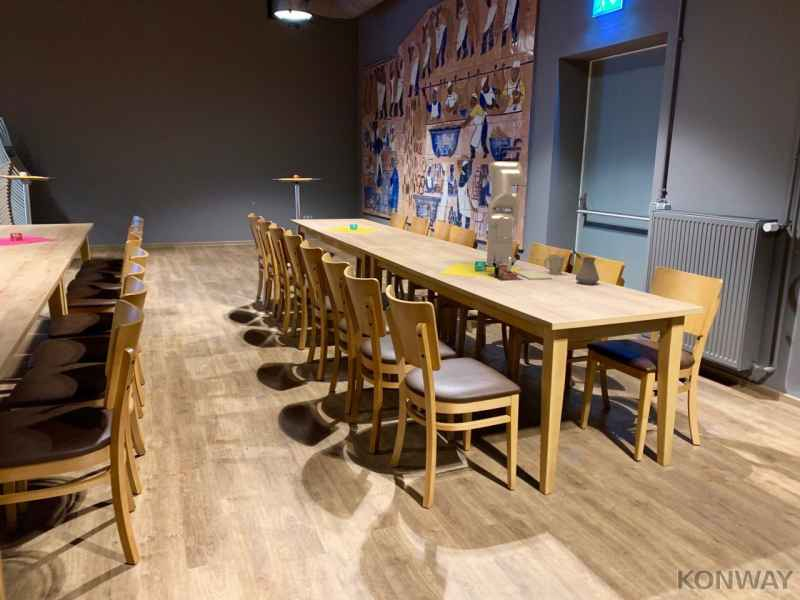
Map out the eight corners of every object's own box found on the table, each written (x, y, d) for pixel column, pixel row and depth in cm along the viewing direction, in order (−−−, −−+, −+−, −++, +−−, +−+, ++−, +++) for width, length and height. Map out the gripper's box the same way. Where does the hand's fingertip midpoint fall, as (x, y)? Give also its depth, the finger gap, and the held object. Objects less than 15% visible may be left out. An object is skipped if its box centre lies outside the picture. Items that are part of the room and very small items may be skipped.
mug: (556, 275, 334) (558, 257, 332) (538, 272, 344) (539, 254, 341) (566, 274, 339) (567, 256, 337) (547, 270, 349) (548, 253, 347)
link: (495, 274, 327) (495, 265, 326) (505, 274, 329) (505, 265, 327) (506, 279, 314) (507, 270, 313) (516, 279, 315) (517, 269, 314)
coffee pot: (603, 285, 311) (606, 255, 308) (583, 285, 308) (586, 255, 305) (579, 277, 331) (582, 249, 328) (560, 277, 328) (562, 249, 325)
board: (513, 274, 334) (513, 271, 333) (533, 274, 337) (533, 270, 336) (529, 282, 315) (530, 278, 314) (551, 281, 318) (551, 277, 317)
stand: (486, 276, 329) (488, 253, 326) (509, 275, 332) (511, 253, 329) (500, 282, 312) (501, 258, 309) (524, 281, 315) (525, 258, 312)
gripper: (516, 239, 327) (514, 273, 331) (486, 239, 323) (484, 274, 327) (522, 241, 320) (520, 275, 324) (491, 241, 316) (489, 276, 320)
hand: (502, 274), depth 325 cm, fingers closed on link, 5 cm apart
